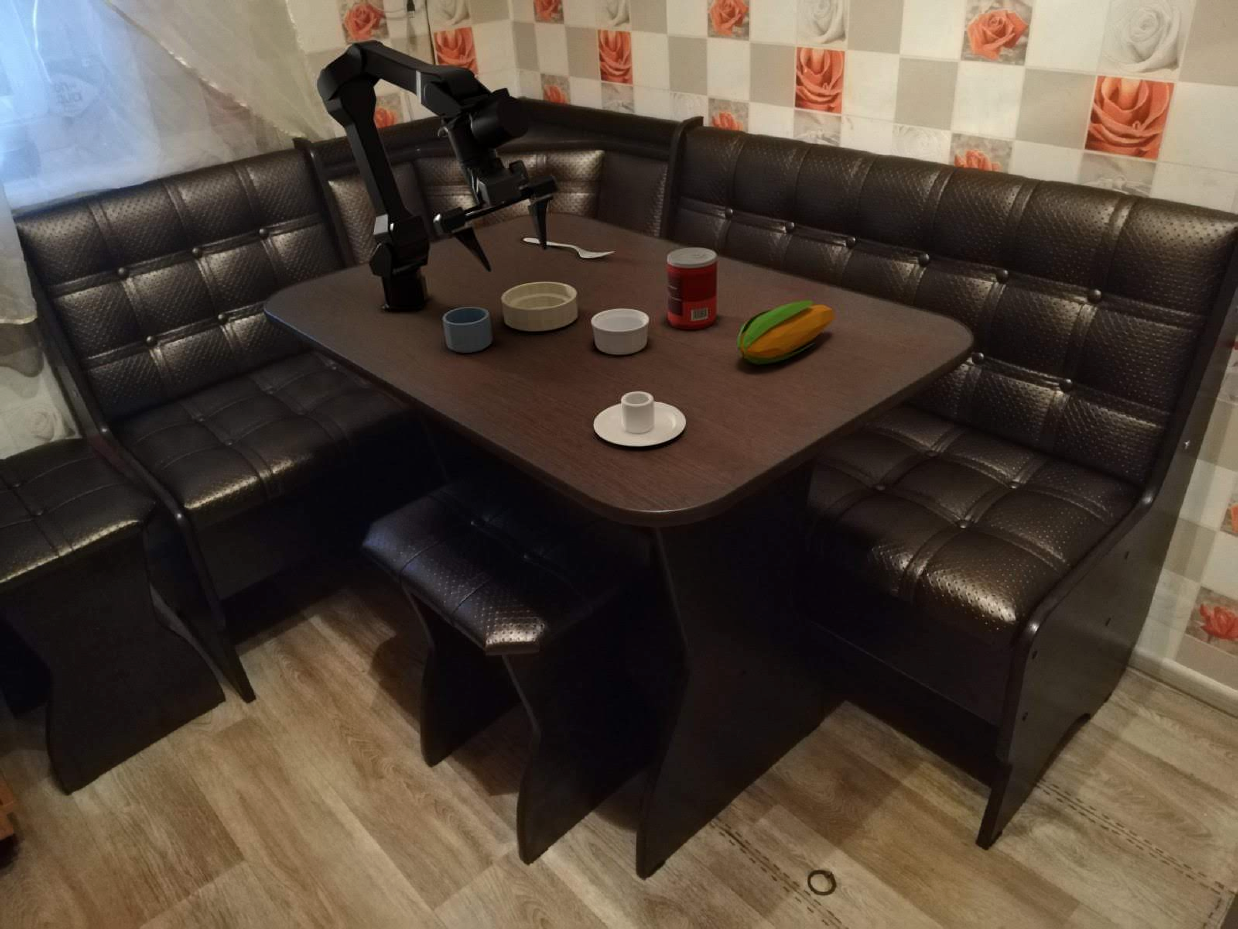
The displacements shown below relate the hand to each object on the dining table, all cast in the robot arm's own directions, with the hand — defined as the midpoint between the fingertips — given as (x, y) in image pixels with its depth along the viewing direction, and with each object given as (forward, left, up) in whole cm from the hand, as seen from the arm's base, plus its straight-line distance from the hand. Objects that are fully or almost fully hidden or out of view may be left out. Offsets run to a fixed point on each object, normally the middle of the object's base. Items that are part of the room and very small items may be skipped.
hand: (517, 260), depth 139 cm
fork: (+1, +44, -13) cm, 46 cm away
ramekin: (+15, -2, -13) cm, 20 cm away
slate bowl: (-9, -1, -13) cm, 16 cm away
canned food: (+26, +7, -13) cm, 30 cm away
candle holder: (+19, -28, -13) cm, 37 cm away
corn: (+40, -5, -13) cm, 43 cm away
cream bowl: (+1, +9, -13) cm, 16 cm away
